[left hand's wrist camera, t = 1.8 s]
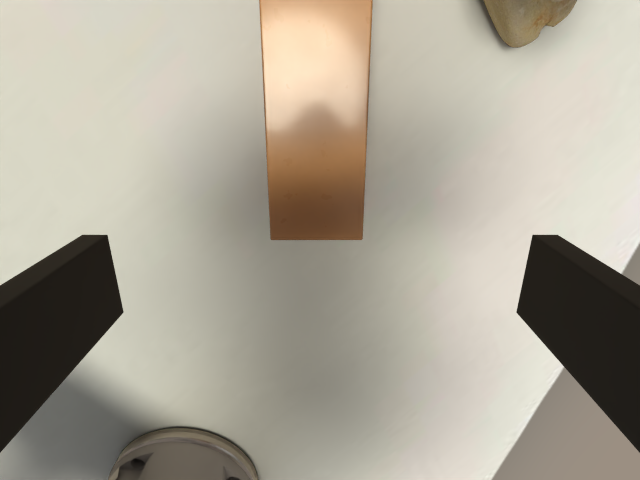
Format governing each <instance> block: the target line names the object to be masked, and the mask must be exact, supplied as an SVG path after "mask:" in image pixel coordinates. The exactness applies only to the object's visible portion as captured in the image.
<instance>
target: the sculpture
mask: <svg viewBox="0 0 640 480" xmlns="http://www.w3.org/2000/svg"><path fill="white" fill-rule="evenodd" d="M576 1H577V0H484V3H485V5H486V8H487V10H488V12H489V15H490V17H491V19H492V21H493V24H494V26H495V28H496V30H497V32H498V33H499V35H500V37H501V38H502V40H503V41H504V42H505V43H506V44H508V45H509V46H511V47H522V46H525V45H527V44H529V43H530V42H532V41H534V40H535V39H536V38H537V37H538V36H539V34H540V31H541V29H542V28H543V27H544V26H545V25H547V26H552V27H554V26H555V25H557V24H558V23H559V22H561V21H562V20H563V19H564V18H565V17H566V16H567V15H568V14H569V13H570V12H571V10H572V8H573V7H574V5H575V3H576Z"/></svg>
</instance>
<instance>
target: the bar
mask: <svg viewBox="0 0 640 480" xmlns="http://www.w3.org/2000/svg"><path fill="white" fill-rule="evenodd" d="M372 1H373V0H259V3H260V24H261V46H262V67H263V88H264V109H265V131H266V152H267V173H268V194H269V216H270V237H271V240H362V239H363V216H364V192H365V168H366V144H367V120H368V96H369V73H370V49H371V25H372Z"/></svg>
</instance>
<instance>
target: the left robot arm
mask: <svg viewBox="0 0 640 480" xmlns="http://www.w3.org/2000/svg"><path fill="white" fill-rule="evenodd" d="M122 313H123V308H122V303H121V298H120V293H119V289H118V284H117V279H116V274H115V269H114V265H113V260H112V255H111V250H110V245H109V241H108V236H107V235H82V236H80V237H78V238H77V239H75V240H73V241H72V242H70V243H69V244H67V245H65V246H64V247H62V248H60V249H59V250H57V251H56V252H54V253H52V254H51V255H49V256H47V257H46V258H44V259H43V260H41V261H39V262H38V263H36V264H34V265H33V266H31V267H30V268H28V269H26V270H25V271H23V272H21V273H20V274H18V275H17V276H15V277H13V278H12V279H10V280H8V281H7V282H5V283H4V284H2V285H0V452H1V451H2V450H3V449H4V448H5V447H6V445H7V444H8V443H9V442H10V441H11V440H12V439H13V437H14V436H15V435H16V434H17V433H18V432H19V431H20V429H21V428H22V427H23V426H24V425H25V424H26V423H27V422H28V420H29V419H30V418H31V417H32V416H33V415H34V414H35V412H36V411H37V410H38V409H39V408H40V407H41V406H42V404H43V403H44V402H45V401H46V400H47V399H48V398H49V397H50V395H51V394H52V393H53V392H54V391H55V390H56V389H57V387H58V386H59V385H60V384H61V383H62V382H63V381H64V379H65V378H66V377H67V376H68V375H69V374H70V373H71V371H72V370H73V369H74V368H75V367H76V366H77V365H78V364H79V362H80V361H81V360H82V359H83V358H84V357H85V356H86V354H87V353H88V352H89V351H90V350H91V349H92V348H93V346H94V345H95V344H96V343H97V342H98V341H99V340H100V338H101V337H102V336H103V335H104V334H105V333H106V332H107V331H108V329H109V328H110V327H111V326H112V325H113V324H114V323H115V321H116V320H117V319H118V318H119V317H120V316H121V315H122ZM517 313H518V315H519V316H520V317H521V318H522V319H523V320H524V321H525V323H526V324H527V325H528V326H529V327H530V328H531V329H532V331H533V332H534V333H535V334H536V335H537V336H538V337H539V338H540V340H541V341H542V342H543V343H544V344H545V345H546V346H547V348H548V349H549V350H550V351H551V352H552V353H553V354H554V356H555V357H556V358H557V359H558V360H559V361H560V362H561V364H562V365H563V366H564V367H565V368H566V369H567V370H568V371H569V373H570V374H571V375H572V376H573V377H574V378H575V379H576V381H577V382H578V383H579V384H580V385H581V386H582V387H583V389H584V390H585V391H586V392H587V393H588V394H589V395H590V397H591V398H592V399H593V400H594V401H595V402H596V403H597V404H598V406H599V407H600V408H601V409H602V410H603V411H604V412H605V414H606V415H607V416H608V417H609V418H610V419H611V420H612V422H613V423H614V424H615V425H616V426H617V427H618V428H619V429H620V431H621V432H622V433H623V434H624V435H625V436H626V437H627V439H628V440H629V441H630V442H631V443H632V444H633V445H634V447H635V448H636V449H637V450H638V451H639V452H640V285H638V284H636V283H635V282H633V281H631V280H630V279H628V278H627V277H625V276H623V275H622V274H620V273H619V272H617V271H615V270H614V269H612V268H610V267H609V266H607V265H606V264H604V263H602V262H601V261H599V260H597V259H596V258H594V257H593V256H591V255H589V254H588V253H586V252H584V251H583V250H581V249H580V248H578V247H576V246H575V245H573V244H571V243H570V242H568V241H567V240H565V239H563V238H562V237H560V236H558V235H533V236H532V241H531V245H530V250H529V255H528V260H527V265H526V269H525V274H524V279H523V284H522V289H521V293H520V298H519V303H518V308H517ZM108 480H258V476H257V473H256V470H255V468H254V466H253V464H252V463H251V461H250V460H249V458H248V457H247V456H246V455H245V454H244V453H243V452H242V451H241V450H240V449H239V448H238V447H236V446H235V445H234V444H232V443H231V442H229V441H227V440H225V439H223V438H221V437H219V436H217V435H214V434H212V433H208V432H205V431H201V430H196V429H188V428H169V429H162V430H157V431H153V432H150V433H147V434H145V435H143V436H141V437H139V438H137V439H135V440H134V441H132V442H131V443H130V444H129V445H128V446H126V448H125V449H124V450H123V451H122V453H121V454H120V456H119V457H118V459H117V461H116V463H115V465H114V467H113V468H112V470H111V472H110V475H109V478H108Z"/></svg>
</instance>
